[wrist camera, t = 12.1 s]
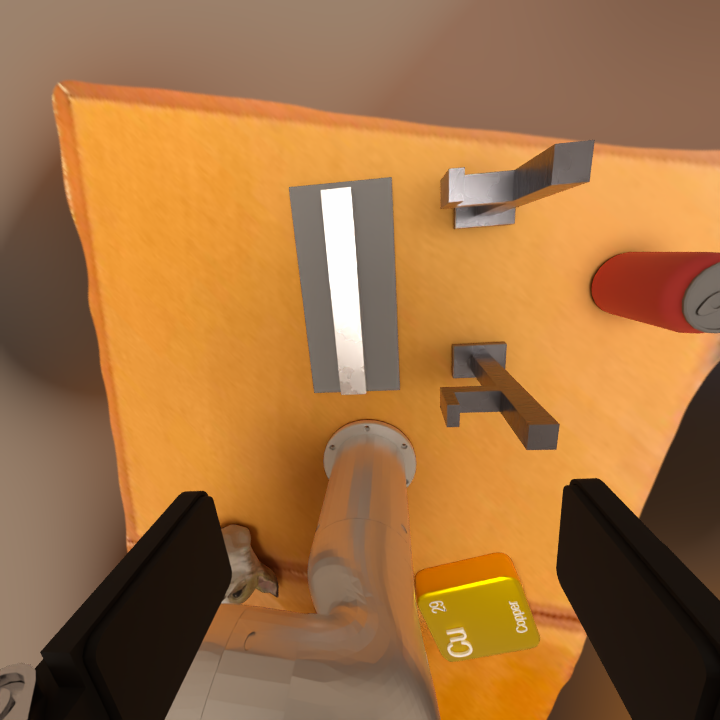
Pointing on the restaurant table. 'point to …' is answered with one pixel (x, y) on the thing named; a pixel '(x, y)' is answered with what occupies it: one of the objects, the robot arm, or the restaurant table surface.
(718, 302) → the beer can
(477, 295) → the restaurant table surface
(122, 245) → the restaurant table surface
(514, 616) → the element tile
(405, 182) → the restaurant table surface
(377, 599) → the robot arm
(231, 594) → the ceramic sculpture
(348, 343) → the rail
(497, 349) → the hook stand
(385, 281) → the mat
